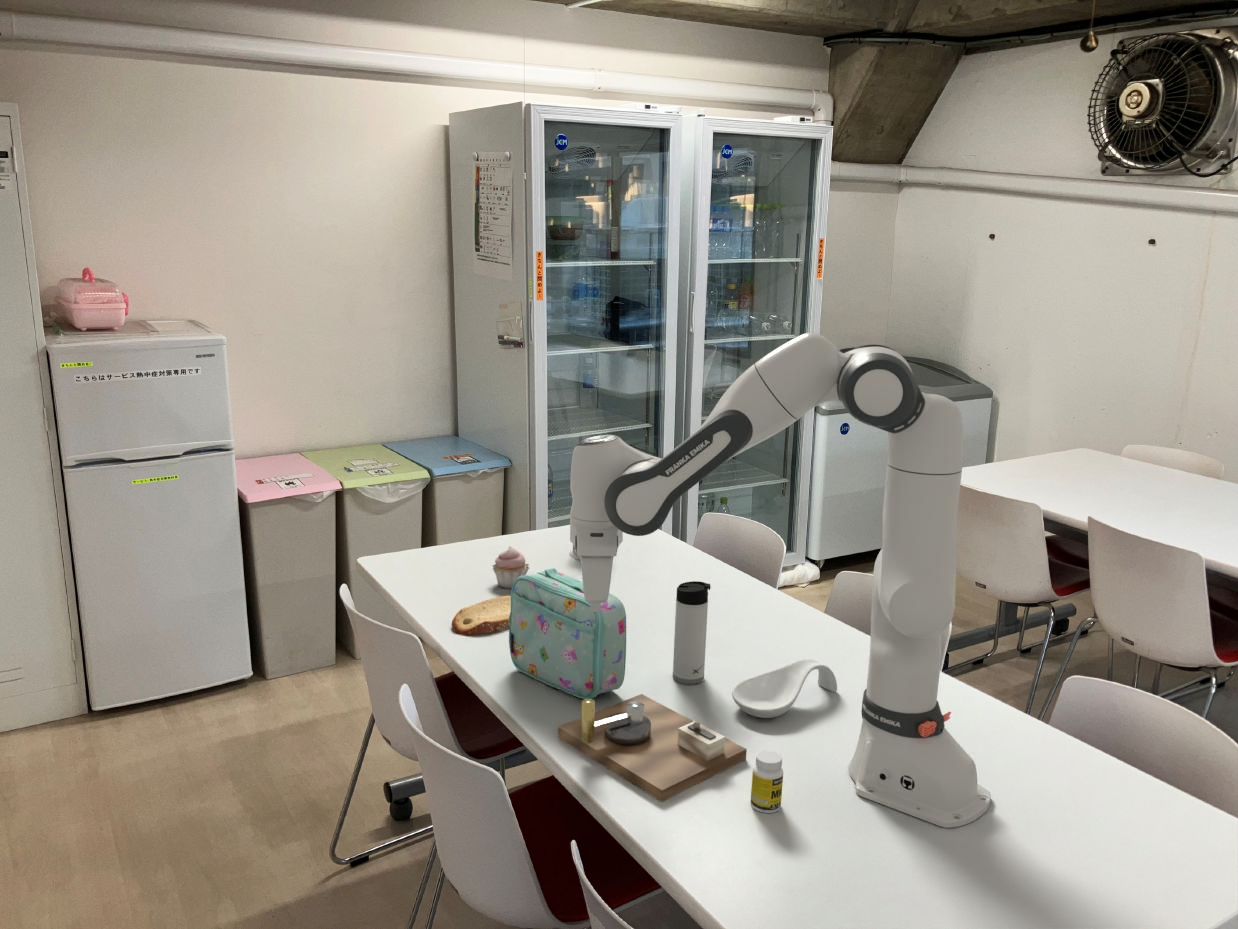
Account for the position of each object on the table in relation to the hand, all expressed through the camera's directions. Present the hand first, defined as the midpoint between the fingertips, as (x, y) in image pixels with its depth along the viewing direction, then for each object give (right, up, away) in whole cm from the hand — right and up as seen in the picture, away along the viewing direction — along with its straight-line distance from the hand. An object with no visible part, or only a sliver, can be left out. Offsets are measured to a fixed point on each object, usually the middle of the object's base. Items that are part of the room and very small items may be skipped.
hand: (595, 608), depth 168 cm
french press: (-5, 0, +103) cm, 103 cm away
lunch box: (-7, -18, +27) cm, 33 cm away
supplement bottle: (+27, -29, -14) cm, 42 cm away
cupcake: (-23, -6, +78) cm, 82 cm away
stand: (+9, -24, +2) cm, 26 cm away
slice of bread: (-25, -11, +56) cm, 63 cm away
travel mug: (+18, -18, +29) cm, 39 cm away
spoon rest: (+36, -21, +20) cm, 46 cm away
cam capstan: (+3, -22, +1) cm, 22 cm away
